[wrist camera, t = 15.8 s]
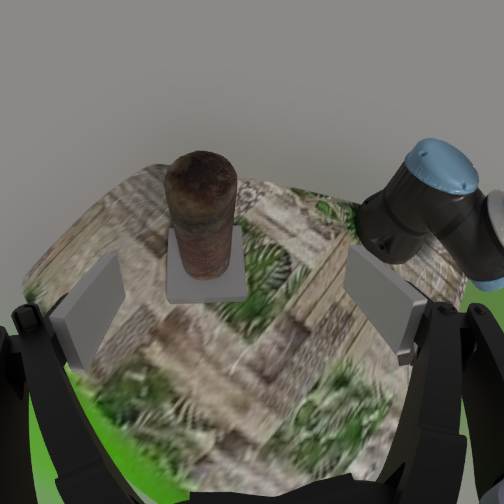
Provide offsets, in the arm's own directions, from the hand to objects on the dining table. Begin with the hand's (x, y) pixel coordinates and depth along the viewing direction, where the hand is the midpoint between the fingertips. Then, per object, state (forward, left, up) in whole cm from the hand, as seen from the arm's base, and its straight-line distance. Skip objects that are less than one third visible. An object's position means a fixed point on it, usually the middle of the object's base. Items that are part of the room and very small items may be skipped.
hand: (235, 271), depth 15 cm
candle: (+3, -12, -26) cm, 29 cm away
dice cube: (-32, +6, -30) cm, 44 cm away
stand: (+3, -12, -29) cm, 32 cm away
